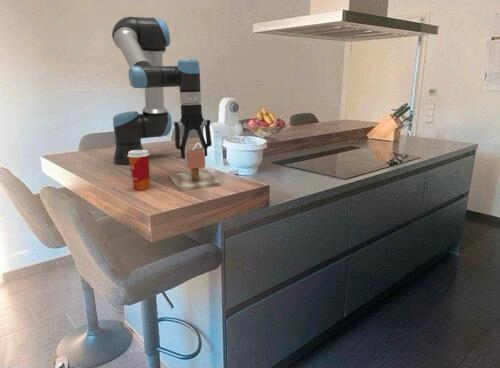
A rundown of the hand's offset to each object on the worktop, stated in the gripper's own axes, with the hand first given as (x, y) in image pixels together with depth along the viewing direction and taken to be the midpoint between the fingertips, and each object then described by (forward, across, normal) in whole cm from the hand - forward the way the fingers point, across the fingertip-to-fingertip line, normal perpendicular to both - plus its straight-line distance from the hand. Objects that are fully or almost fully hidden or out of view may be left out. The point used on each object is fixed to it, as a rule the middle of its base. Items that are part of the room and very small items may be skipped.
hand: (194, 165), depth 142 cm
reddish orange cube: (0, 0, 0) cm, 0 cm away
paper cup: (+7, -20, +2) cm, 21 cm away
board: (+7, 0, +3) cm, 8 cm away
